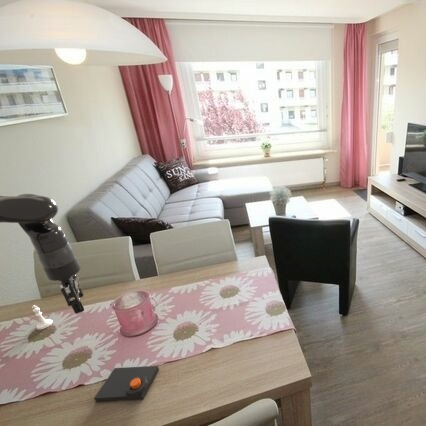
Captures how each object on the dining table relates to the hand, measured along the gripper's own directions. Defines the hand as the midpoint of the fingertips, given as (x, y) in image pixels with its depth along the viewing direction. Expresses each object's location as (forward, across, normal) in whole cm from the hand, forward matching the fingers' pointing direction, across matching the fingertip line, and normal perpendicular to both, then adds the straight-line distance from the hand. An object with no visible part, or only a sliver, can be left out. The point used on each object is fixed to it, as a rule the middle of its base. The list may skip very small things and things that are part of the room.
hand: (79, 304), depth 91 cm
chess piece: (+24, -36, -18) cm, 47 cm away
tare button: (+21, +21, +7) cm, 31 cm away
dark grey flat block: (+24, +16, +5) cm, 30 cm away
